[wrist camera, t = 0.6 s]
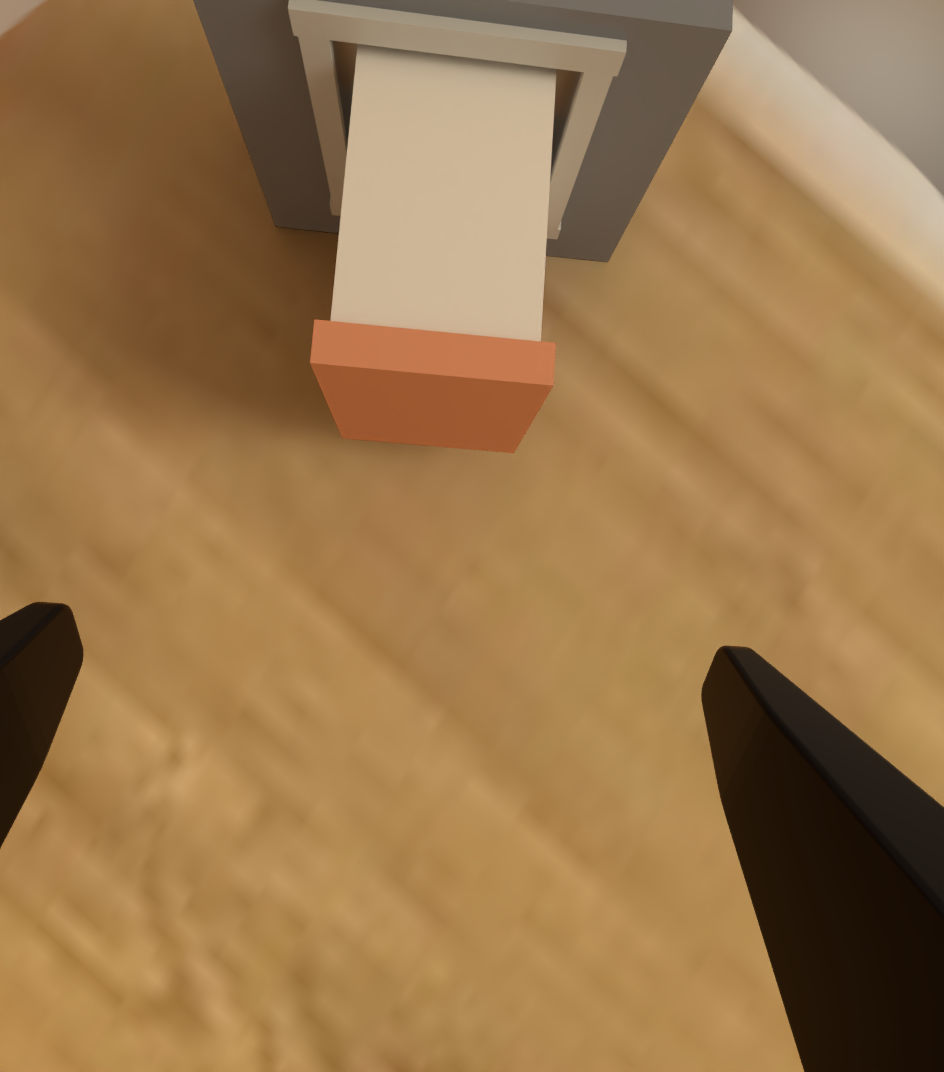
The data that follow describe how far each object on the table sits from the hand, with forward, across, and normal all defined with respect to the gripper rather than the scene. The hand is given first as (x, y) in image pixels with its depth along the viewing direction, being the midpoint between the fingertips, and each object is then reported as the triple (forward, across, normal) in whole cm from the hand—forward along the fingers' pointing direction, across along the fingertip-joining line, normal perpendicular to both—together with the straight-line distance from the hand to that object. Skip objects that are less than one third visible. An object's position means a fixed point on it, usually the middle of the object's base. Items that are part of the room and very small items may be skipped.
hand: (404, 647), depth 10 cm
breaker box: (+20, 0, -3) cm, 21 cm away
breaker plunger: (+16, 0, -1) cm, 16 cm away
